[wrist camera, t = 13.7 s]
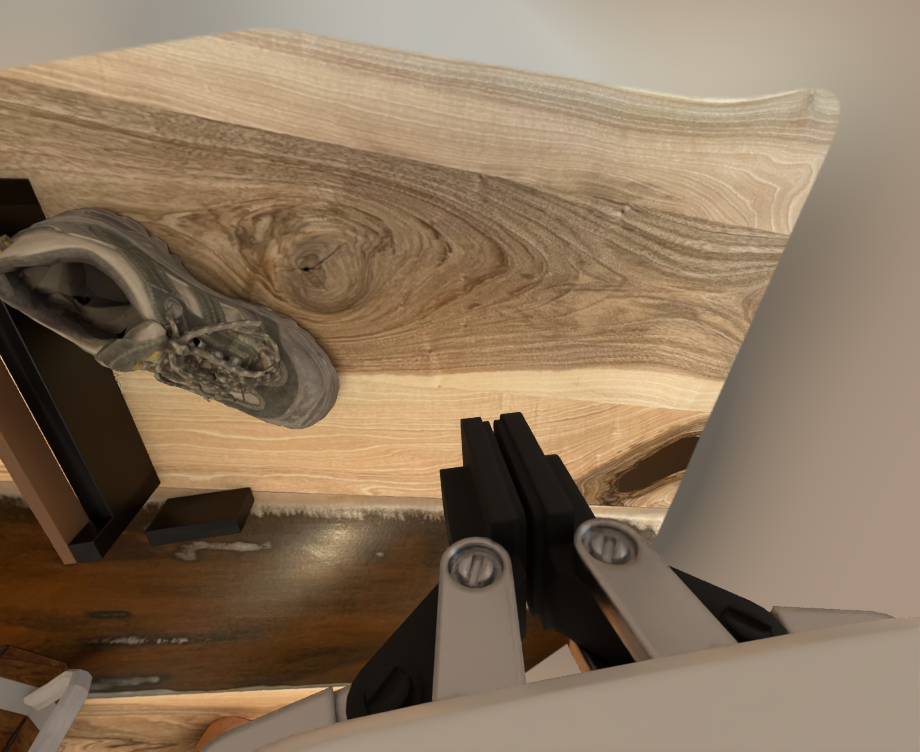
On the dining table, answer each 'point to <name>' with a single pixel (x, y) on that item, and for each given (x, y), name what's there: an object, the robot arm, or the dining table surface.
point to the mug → (37, 700)
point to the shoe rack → (83, 435)
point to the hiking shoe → (163, 317)
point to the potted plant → (219, 729)
